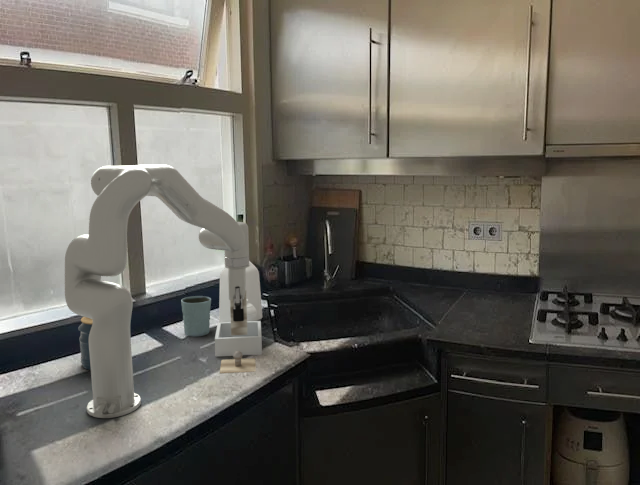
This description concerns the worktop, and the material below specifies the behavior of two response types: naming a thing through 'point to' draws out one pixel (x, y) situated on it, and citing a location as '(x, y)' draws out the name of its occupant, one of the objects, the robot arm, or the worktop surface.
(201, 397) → the worktop surface
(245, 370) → the square lid with knob
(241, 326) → the strut
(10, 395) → the worktop surface
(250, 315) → the spinning top
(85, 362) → the canister
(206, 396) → the worktop surface
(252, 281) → the milk
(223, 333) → the bin
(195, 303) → the teal cup
